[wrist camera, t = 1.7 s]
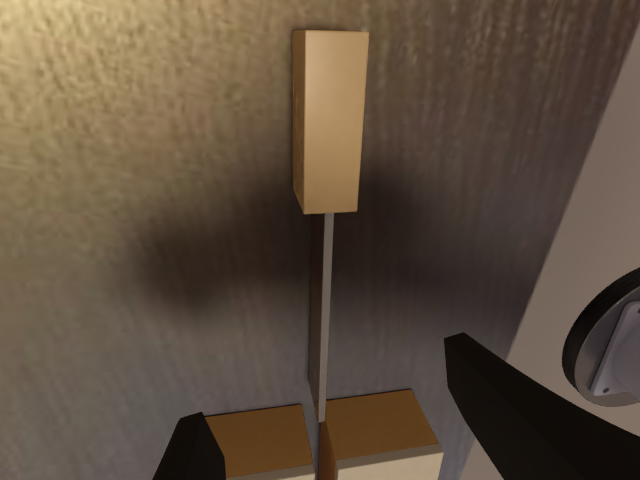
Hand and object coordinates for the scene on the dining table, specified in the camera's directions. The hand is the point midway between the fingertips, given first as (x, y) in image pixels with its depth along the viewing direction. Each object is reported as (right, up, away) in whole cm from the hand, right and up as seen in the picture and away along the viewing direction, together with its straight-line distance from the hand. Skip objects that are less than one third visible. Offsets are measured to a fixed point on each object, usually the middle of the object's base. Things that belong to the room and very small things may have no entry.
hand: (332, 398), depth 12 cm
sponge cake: (-1, -10, +16) cm, 19 cm away
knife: (-1, +5, +8) cm, 10 cm away
